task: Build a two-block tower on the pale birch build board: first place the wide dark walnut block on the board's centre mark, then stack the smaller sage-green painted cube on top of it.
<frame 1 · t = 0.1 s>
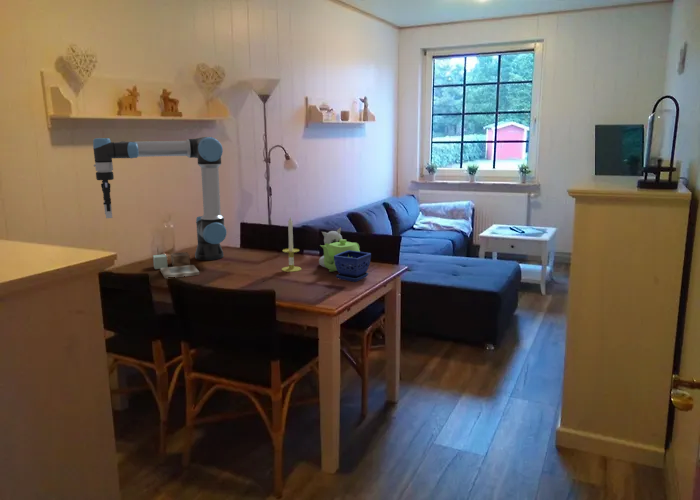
hand: (108, 216, 266), 28 cm above the table, fingers open, 13 cm apart
build board: (179, 272, 271), on the table
decorative figurine: (333, 266, 285), on the table, touching teapot
sage cube: (160, 267, 283), on the table
walnut block: (181, 265, 287), on the table
candle: (291, 269, 278), on the table
flower pot: (352, 279, 260), on the table, touching teapot
teapot: (336, 270, 275), on the table, touching decorative figurine, flower pot
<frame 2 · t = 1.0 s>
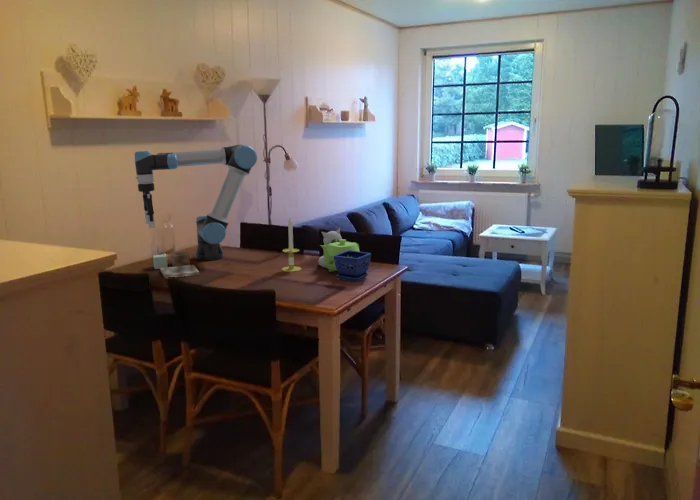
hand: (150, 225, 276), 22 cm above the table, fingers open, 13 cm apart
nothing on the table moved.
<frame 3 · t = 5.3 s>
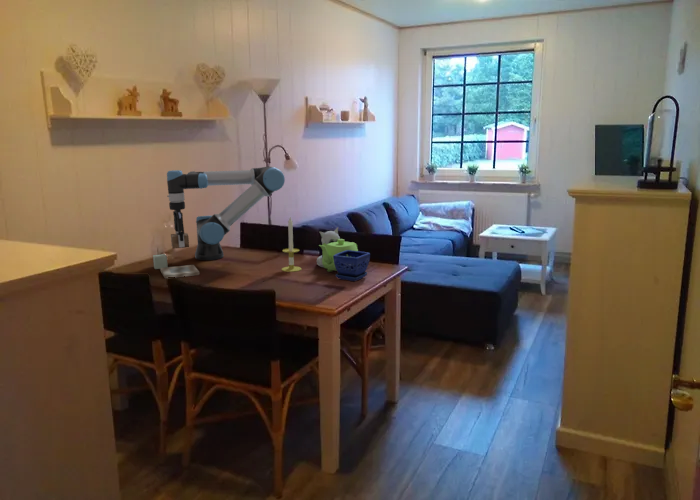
hand: (180, 245, 285), 10 cm above the table, fingers closed on walnut block, 8 cm apart
decorative figurine: (331, 266, 286), on the table, touching teapot
walnut block: (180, 246, 285), point 10 cm above the table, touching gripper
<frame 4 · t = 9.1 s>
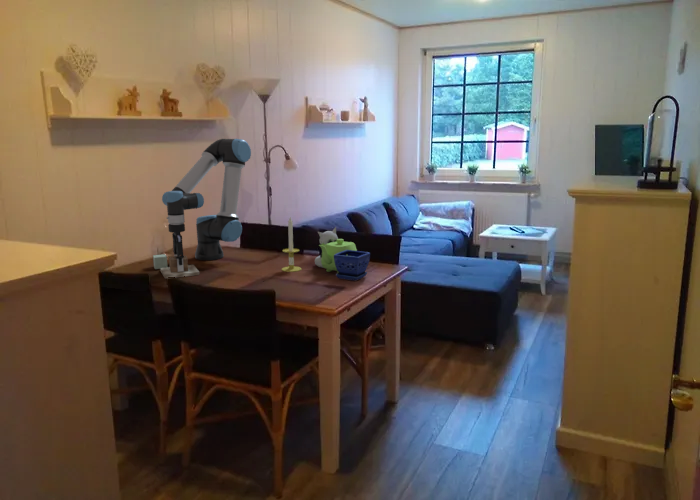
hand: (179, 269, 271), 2 cm above the table, fingers closed on build board, walnut block, 8 cm apart
walnut block: (179, 269, 271), point 2 cm above the table, touching build board, gripper
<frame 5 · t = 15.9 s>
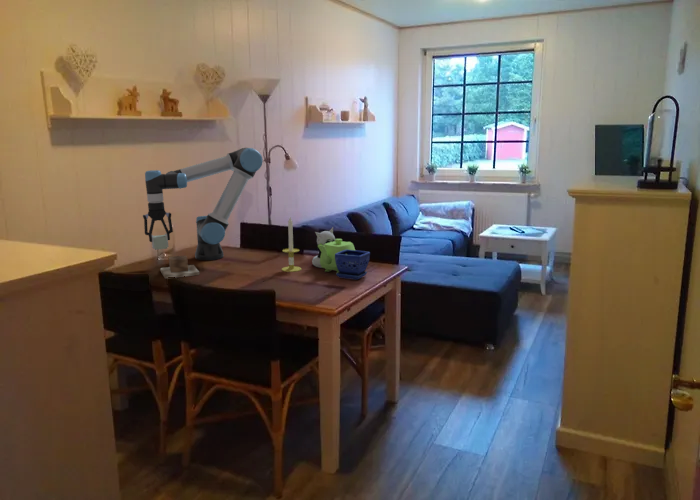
hand: (160, 247, 281), 10 cm above the table, fingers closed on sage cube, 6 cm apart
decorative figurine: (326, 266, 286), on the table, touching teapot
sage cube: (160, 248, 281), point 10 cm above the table, touching gripper
walnut block: (179, 269, 271), point 2 cm above the table, touching build board
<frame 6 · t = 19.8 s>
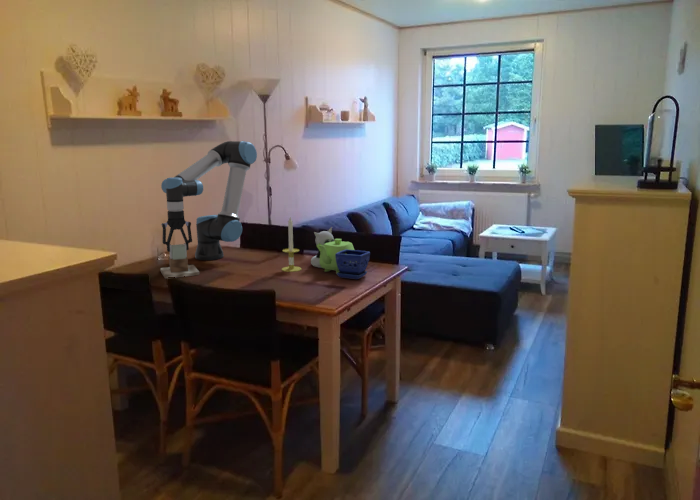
hand: (178, 257, 270), 8 cm above the table, fingers closed on sage cube, walnut block, 6 cm apart
sage cube: (178, 257, 270), point 8 cm above the table, touching gripper, walnut block
walnut block: (179, 269, 271), point 2 cm above the table, touching build board, gripper, sage cube
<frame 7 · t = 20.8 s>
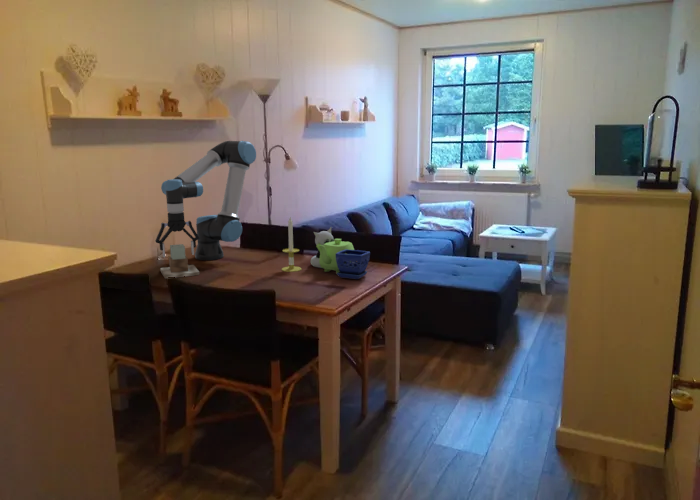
hand: (178, 255, 270), 9 cm above the table, fingers open, 13 cm apart
sage cube: (178, 257, 270), point 8 cm above the table, touching walnut block
walnut block: (179, 269, 271), point 2 cm above the table, touching build board, sage cube
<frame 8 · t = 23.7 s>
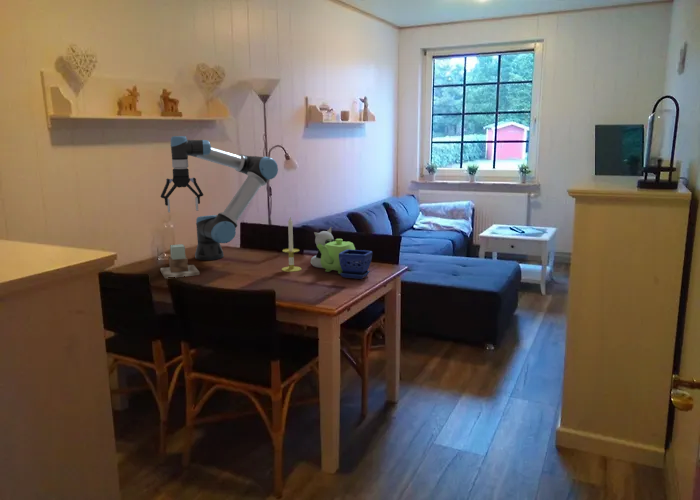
hand: (183, 211, 276), 29 cm above the table, fingers open, 13 cm apart
flower pot: (355, 277, 263), on the table, touching teapot
at the end: walnut block inside the target area on the build board (0.3 cm from its centre), point 1.6 cm above the build board's base; sage cube 0.0 cm from the walnut block (horizontally); sage cube point 7.6 cm above the table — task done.
